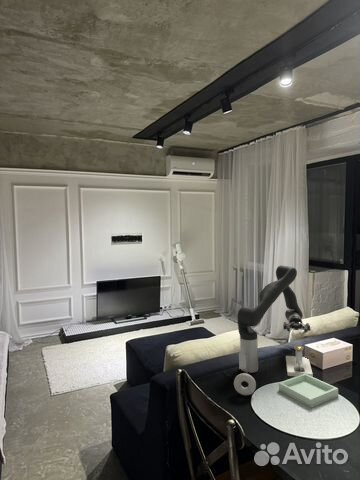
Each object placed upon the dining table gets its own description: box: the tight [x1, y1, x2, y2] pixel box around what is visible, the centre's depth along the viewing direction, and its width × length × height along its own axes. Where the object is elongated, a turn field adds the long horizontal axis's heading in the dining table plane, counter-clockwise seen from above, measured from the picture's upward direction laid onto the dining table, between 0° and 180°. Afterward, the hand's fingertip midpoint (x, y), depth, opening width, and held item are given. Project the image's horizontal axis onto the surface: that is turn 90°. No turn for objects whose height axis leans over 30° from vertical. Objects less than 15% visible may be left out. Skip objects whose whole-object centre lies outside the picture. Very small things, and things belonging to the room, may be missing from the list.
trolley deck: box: [285, 355, 314, 377], centre depth 176 cm, size 22×12×2 cm, turn 164°
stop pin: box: [293, 345, 304, 372], centre depth 169 cm, size 5×5×14 cm
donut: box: [233, 372, 257, 396], centre depth 149 cm, size 10×4×10 cm, turn 77°
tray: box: [278, 374, 339, 409], centre depth 149 cm, size 18×18×4 cm
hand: (297, 330), depth 180 cm, fingers open, 8 cm apart
